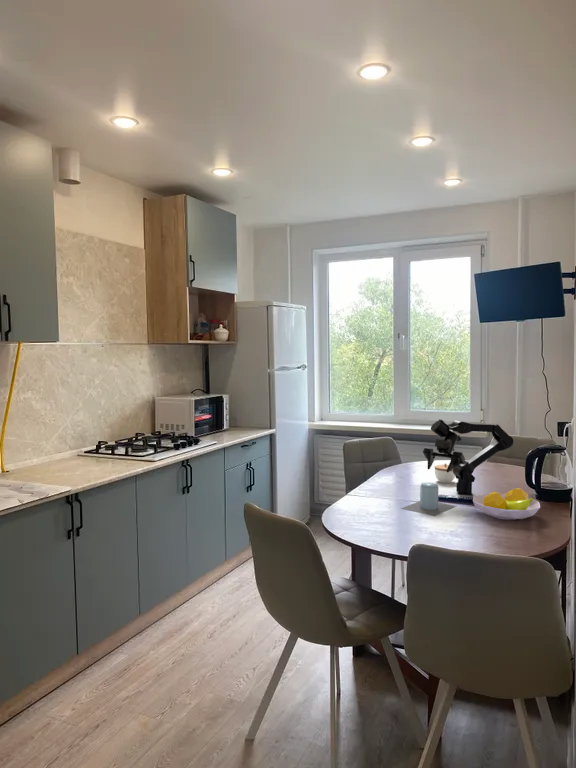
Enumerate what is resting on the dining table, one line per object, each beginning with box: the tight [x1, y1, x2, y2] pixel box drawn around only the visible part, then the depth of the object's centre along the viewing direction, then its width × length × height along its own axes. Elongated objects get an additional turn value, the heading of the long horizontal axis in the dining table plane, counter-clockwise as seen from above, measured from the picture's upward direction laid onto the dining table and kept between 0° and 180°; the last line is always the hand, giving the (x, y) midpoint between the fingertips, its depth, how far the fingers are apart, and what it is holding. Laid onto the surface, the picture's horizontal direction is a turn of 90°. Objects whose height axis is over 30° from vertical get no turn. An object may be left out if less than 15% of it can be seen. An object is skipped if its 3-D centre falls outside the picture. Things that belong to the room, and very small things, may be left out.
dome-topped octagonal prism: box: [419, 482, 439, 510], centre depth 249 cm, size 7×7×10 cm
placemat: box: [400, 500, 457, 517], centre depth 249 cm, size 20×16×1 cm
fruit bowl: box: [472, 487, 541, 520], centre depth 238 cm, size 28×27×11 cm
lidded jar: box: [434, 463, 456, 484], centre depth 298 cm, size 11×11×9 cm
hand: (437, 470), depth 262 cm, fingers open, 9 cm apart
